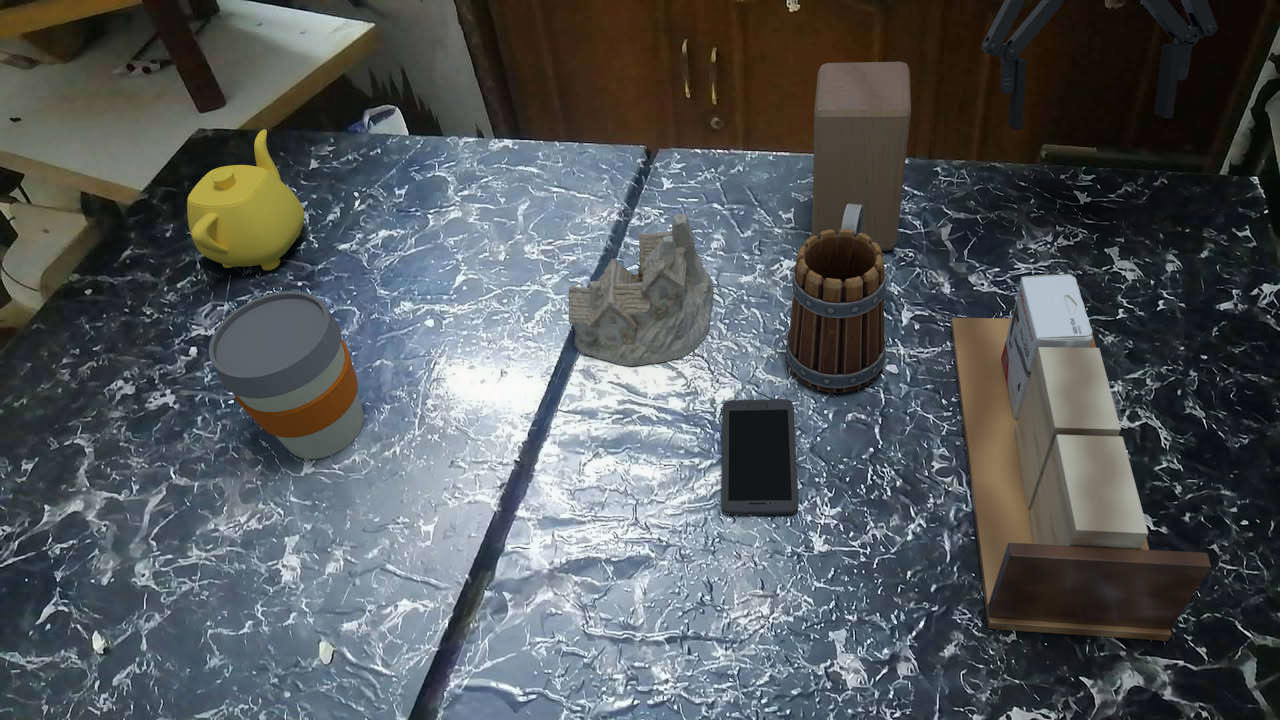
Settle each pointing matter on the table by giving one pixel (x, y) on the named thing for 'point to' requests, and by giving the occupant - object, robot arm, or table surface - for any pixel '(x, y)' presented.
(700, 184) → the table surface
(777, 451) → the cell phone
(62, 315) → the table surface
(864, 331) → the mug
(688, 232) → the ceramic cottage
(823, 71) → the wooden block
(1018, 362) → the ink box
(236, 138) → the table surface
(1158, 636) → the shelf
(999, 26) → the robot arm
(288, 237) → the teapot
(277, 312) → the reusable coffee cup
